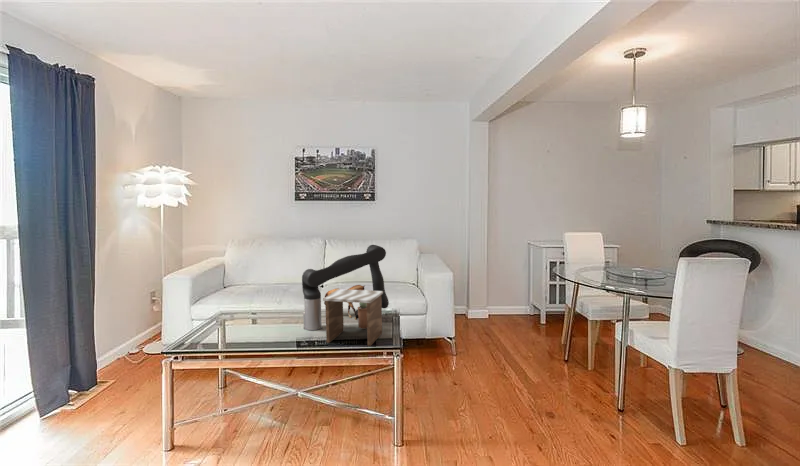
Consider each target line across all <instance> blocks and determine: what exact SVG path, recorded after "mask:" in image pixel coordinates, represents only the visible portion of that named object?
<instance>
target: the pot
mask: <svg viewBox="0 0 800 466" xmlns="http://www.w3.org/2000/svg"><path fill="white" fill-rule="evenodd" d="M357 310H358V319H357V321H358V324H357V325H358V326H357V327H358V329H363V330H364V329H367V303H359V306H358V307H357Z"/></svg>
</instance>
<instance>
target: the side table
mask: <svg viewBox="0 0 800 466" xmlns="http://www.w3.org/2000/svg"><path fill="white" fill-rule="evenodd" d="M348 289H349V288H347V289H346V288H345V289H344V288H343V289H342V288H339V290H337V291H335V292H333V293H332V294H330V295H328V296H326V297H325V296H324V297H323V299H322V301H325V304H324V306H325V335H326V336H325V338H326V339H325V340H326V341H325V342H326V343H328V344H330V343H331V342H332V341H333V340H335V339H336V338H337V337H338V336H340V335H341V334H342V333H344V332H345V330H344V303H347V302H353V303H367V328H366V330H367V331H366V332H367V334H366V335H367V338H366V339H367V346H368V347H371V346H372V345H373V344H374V343H375V342H376V341H377V339H379V337H381V336H382V334H383V321H382V320H383V319H382V318H383V317H382V315H383V312H382V311H383V308H382V301H381V295H382V294H383V291H373V290H371V289H370V290H366V289H364V290H348Z"/></svg>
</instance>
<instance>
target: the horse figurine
mask: <svg viewBox="0 0 800 466" xmlns="http://www.w3.org/2000/svg"><path fill="white" fill-rule="evenodd" d="M365 286H366V285H361V284H356V285H353V286H351V287H349V288H347V289H348V290H365ZM339 289H340V288H339V287H338V288H334V289H333V288H332V289H330V290H328V291H327V292H326V293H325V294H324V298H325V297H326V296H328V295H330V294H332V293H333V292H335V291H337V290H339ZM346 303H347V304H348V305H347V315H348V318H349V319H350V318H351V319H352V317H353V316H352V315H351V314H350V309H352V310H353V313H354V314H355V311H356V309H355V306H354V302H346ZM323 304H324V305H325V301H324V302H323ZM354 320H355V321H358V319H356V318H355V316H354Z"/></svg>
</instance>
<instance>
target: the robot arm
mask: <svg viewBox="0 0 800 466" xmlns="http://www.w3.org/2000/svg"><path fill="white" fill-rule="evenodd" d="M386 254H387V251H386V249H385V248H384V247H382V246H380V245H377V244H370V245H369V246H368V247H367V248H366V252H363V253H358V254H351V255H347V256H343V257H342V258H339V259H337V260H335V261H334V262H333V263H331V264H330V265H329V266H326V267H325V268H321V269H312V268H308V269H306V270H304V271H303V273H302V276H301V287H302V293H303V299H304V300H303V301H304V303H303V306H304V311H303V313H302V315H303V316H302V317H303V319H302V320H303V329H304V330H307V331H316V330H320V329H322V327H323V326H322V325H323V323H322V322H323V321H322V320H323V319H322V294H321V291H320V288H319V286H321V285H322V284H324V283H326V282H328V281H330V280H333V279H335V278H339V277H341V276H344V275H347V274H349V273H352V272H354V271H356V270H358V269H361V268H363V267H366V266H368V265H369V270H370V274H371V281H372V283H371V284H372V291H383V294H382V295H381V301H382V309H387V308H388V307H389V305H390V303H389V302H390V301H389V298H388V296H387V292H386V290H385V289H386V288H385V280H384V276H383V274H382V271H381V269H380V265H379V263H380V262H382V261H383V260H384V259H385V258H386V256H387V255H386ZM354 317H355V318H356V319H357V320H358V309H355V313H354Z"/></svg>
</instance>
